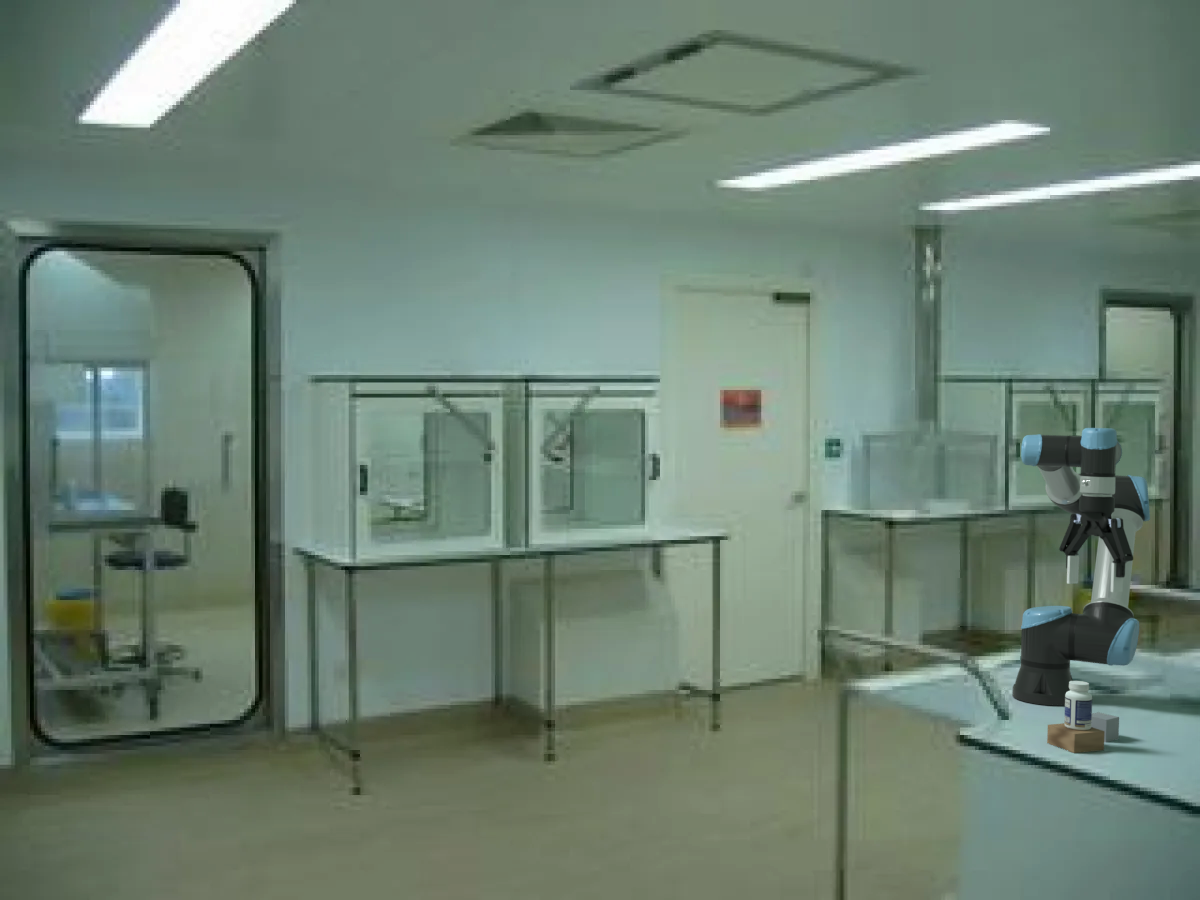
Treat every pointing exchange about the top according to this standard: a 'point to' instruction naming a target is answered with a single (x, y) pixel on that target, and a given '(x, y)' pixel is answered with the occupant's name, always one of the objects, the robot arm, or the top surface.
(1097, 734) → the walnut block
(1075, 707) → the pill bottle
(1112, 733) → the slate cube
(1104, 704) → the top surface
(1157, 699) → the top surface
